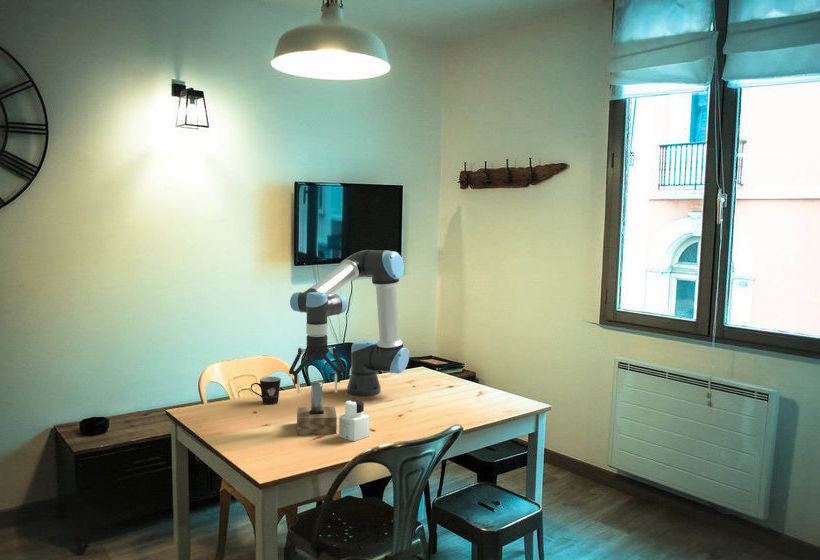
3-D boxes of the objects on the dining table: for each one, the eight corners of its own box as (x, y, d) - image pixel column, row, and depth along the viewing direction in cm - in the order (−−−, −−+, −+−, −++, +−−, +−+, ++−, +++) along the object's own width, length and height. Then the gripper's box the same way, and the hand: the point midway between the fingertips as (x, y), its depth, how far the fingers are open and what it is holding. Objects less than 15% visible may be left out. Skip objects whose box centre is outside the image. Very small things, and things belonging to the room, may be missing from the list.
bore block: (334, 421, 243) (334, 406, 242) (336, 433, 229) (336, 417, 228) (297, 423, 240) (297, 407, 240) (296, 435, 227) (297, 418, 226)
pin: (321, 420, 237) (322, 381, 236) (322, 424, 233) (322, 383, 232) (311, 421, 236) (311, 381, 235) (311, 424, 232) (311, 384, 231)
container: (353, 431, 231) (354, 396, 230) (369, 436, 227) (369, 400, 226) (338, 437, 226) (338, 401, 224) (354, 441, 221) (354, 405, 220)
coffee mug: (283, 400, 272) (283, 377, 271) (277, 405, 263) (277, 381, 262) (256, 398, 273) (256, 375, 272) (249, 404, 264) (249, 380, 263)
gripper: (350, 332, 238) (350, 387, 240) (282, 333, 234) (283, 390, 236) (352, 335, 230) (352, 393, 232) (281, 337, 226) (282, 395, 228)
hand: (317, 391), depth 234 cm, fingers open, 13 cm apart
